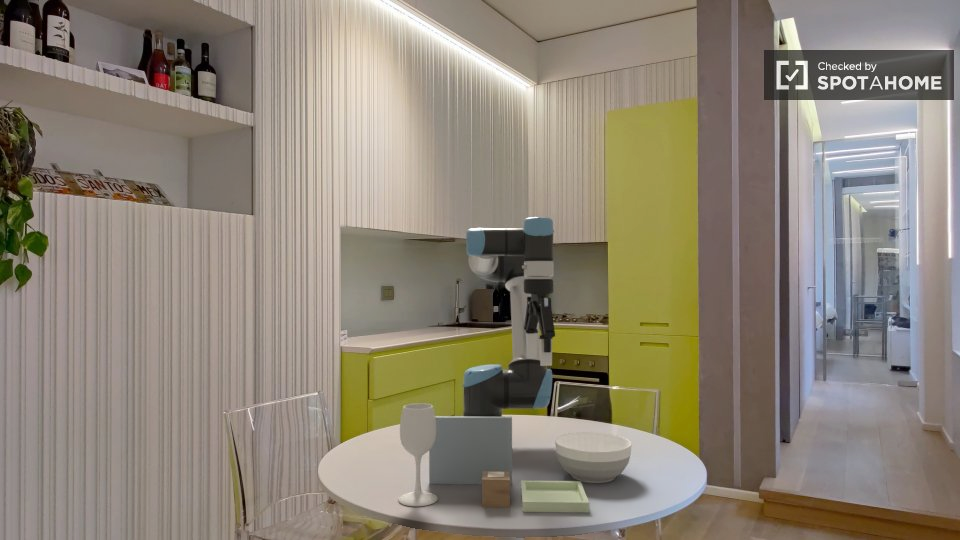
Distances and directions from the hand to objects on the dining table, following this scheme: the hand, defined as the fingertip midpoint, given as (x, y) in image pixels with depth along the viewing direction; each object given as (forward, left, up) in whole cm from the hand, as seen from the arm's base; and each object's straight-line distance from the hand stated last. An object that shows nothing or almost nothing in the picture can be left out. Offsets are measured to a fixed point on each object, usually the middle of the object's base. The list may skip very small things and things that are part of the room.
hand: (538, 361), depth 159 cm
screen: (-10, -16, -28) cm, 34 cm away
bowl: (+12, +6, -29) cm, 32 cm away
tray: (+12, -15, -28) cm, 34 cm away
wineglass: (-13, -32, -29) cm, 44 cm away
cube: (+2, -23, -29) cm, 36 cm away
